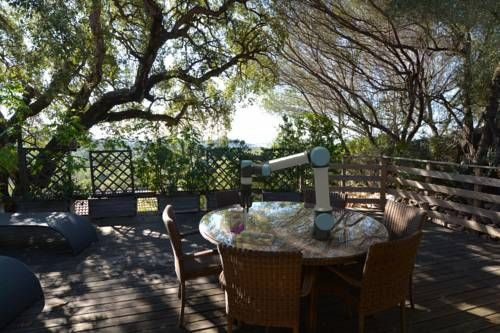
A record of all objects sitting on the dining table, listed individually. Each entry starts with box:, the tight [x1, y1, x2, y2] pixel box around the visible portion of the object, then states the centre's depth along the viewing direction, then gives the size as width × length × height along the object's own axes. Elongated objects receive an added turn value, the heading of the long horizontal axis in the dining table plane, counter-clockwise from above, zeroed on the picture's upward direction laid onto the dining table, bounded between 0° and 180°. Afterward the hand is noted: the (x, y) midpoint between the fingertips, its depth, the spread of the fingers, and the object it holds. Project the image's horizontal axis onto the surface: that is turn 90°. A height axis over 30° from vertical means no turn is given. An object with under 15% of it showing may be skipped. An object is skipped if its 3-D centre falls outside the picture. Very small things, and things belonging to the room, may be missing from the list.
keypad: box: [235, 231, 276, 246], centre depth 213 cm, size 24×14×3 cm, turn 75°
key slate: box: [251, 230, 262, 238], centre depth 213 cm, size 5×5×3 cm
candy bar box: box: [229, 208, 247, 234], centre depth 231 cm, size 11×5×16 cm, turn 70°
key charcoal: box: [261, 235, 271, 239], centre depth 211 cm, size 5×5×3 cm
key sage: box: [241, 230, 252, 237], centre depth 215 cm, size 5×5×3 cm
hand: (245, 217), depth 214 cm, fingers closed
